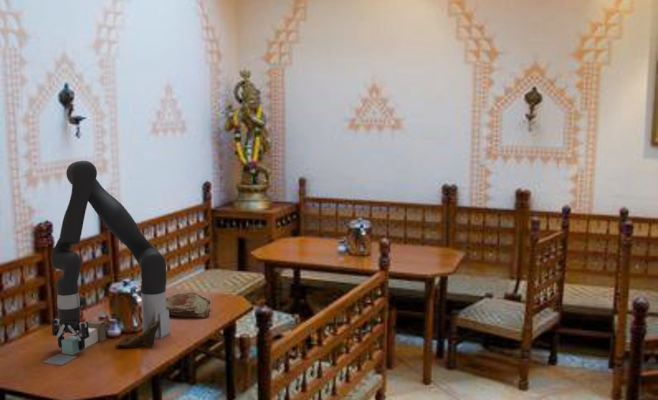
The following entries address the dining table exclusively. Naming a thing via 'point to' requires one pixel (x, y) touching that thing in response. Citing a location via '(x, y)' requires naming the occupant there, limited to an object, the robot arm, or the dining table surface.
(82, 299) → the figurine
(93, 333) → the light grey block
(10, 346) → the dining table surface
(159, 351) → the dining table surface
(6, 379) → the dining table surface
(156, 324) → the dark brown curved piece
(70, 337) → the pale teal block
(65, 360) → the pad
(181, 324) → the dining table surface
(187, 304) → the stone
